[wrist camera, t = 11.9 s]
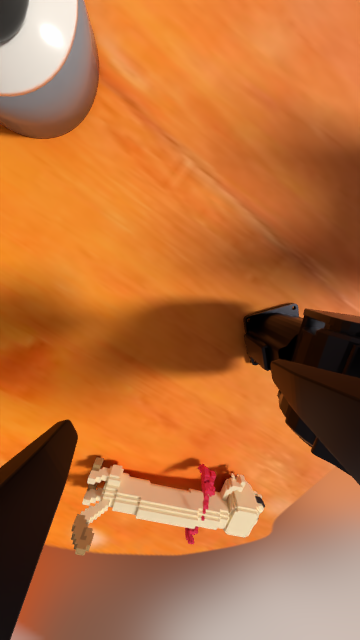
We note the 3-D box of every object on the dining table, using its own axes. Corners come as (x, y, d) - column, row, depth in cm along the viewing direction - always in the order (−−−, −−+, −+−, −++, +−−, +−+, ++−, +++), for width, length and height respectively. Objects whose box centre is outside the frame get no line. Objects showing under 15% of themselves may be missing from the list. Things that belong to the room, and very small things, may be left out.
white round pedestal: (65, -70, 12) (21, -225, 9) (118, 122, 15) (103, 71, 11) (-93, -38, 12) (-211, -183, 8) (-8, 152, 15) (-67, 109, 11)
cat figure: (92, 484, 27) (244, 514, 29) (53, 579, 18) (272, 613, 20) (105, 432, 25) (268, 469, 27) (67, 513, 16) (310, 557, 18)
